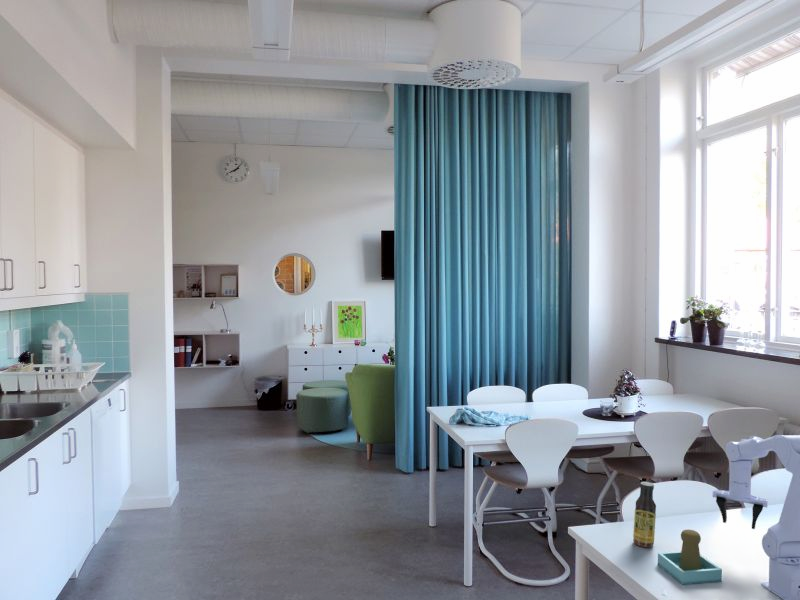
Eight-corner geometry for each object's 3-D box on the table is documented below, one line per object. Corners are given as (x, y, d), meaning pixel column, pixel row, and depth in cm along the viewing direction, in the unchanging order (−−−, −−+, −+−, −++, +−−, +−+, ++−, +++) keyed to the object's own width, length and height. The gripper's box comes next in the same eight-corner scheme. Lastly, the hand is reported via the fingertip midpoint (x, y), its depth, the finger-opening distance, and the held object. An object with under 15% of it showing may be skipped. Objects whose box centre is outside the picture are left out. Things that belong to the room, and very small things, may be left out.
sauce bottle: (632, 546, 189) (633, 484, 189) (634, 538, 195) (635, 478, 194) (654, 550, 186) (655, 488, 186) (656, 542, 192) (657, 482, 191)
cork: (705, 574, 170) (705, 536, 170) (682, 572, 171) (682, 535, 171) (698, 564, 176) (698, 527, 176) (676, 562, 177) (676, 526, 177)
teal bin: (721, 581, 167) (722, 569, 167) (682, 584, 165) (683, 572, 165) (694, 561, 179) (694, 550, 179) (657, 564, 177) (657, 552, 177)
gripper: (769, 482, 181) (767, 526, 181) (715, 472, 189) (714, 515, 190) (766, 488, 175) (765, 534, 175) (711, 478, 183) (710, 522, 184)
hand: (738, 524), depth 182 cm, fingers open, 7 cm apart
